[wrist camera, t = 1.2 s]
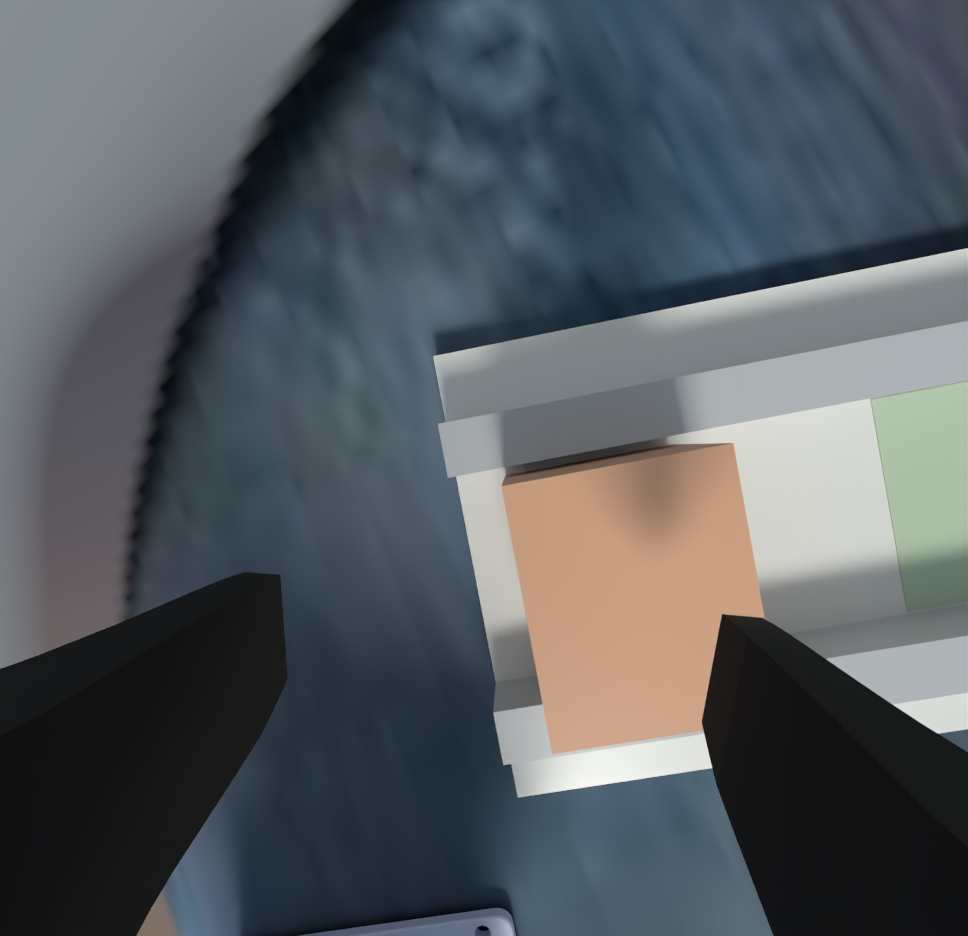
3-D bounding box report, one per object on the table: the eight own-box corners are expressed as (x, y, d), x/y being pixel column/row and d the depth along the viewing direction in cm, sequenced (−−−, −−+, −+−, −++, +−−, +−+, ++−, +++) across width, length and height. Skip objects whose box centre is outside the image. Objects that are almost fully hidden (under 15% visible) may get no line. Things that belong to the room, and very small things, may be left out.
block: (541, 666, 17) (552, 753, 12) (505, 475, 17) (501, 485, 12) (704, 639, 17) (783, 718, 12) (669, 444, 17) (733, 442, 12)
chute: (517, 778, 19) (518, 868, 15) (437, 361, 18) (415, 336, 14) (1154, 680, 17) (1342, 749, 14) (1081, 231, 17) (1252, 165, 13)
